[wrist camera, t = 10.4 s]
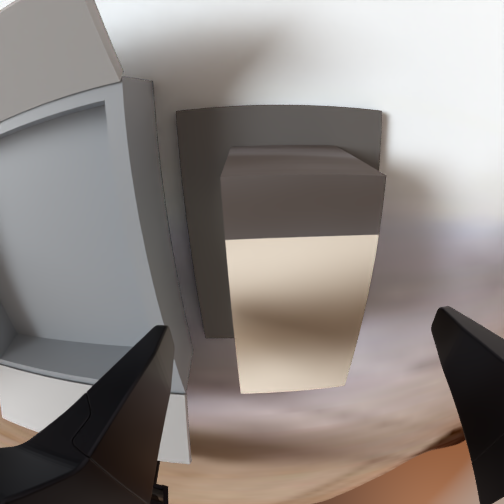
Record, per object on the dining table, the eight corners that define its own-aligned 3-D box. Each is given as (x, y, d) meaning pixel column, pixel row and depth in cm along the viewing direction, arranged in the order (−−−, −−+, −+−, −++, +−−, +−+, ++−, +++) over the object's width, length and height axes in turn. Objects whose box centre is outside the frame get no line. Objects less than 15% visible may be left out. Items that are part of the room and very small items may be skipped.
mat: (351, 324, 20) (353, 330, 19) (206, 332, 20) (205, 338, 19) (377, 110, 13) (381, 110, 13) (178, 111, 13) (175, 111, 13)
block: (322, 310, 18) (344, 385, 13) (242, 314, 18) (240, 393, 13) (334, 145, 14) (385, 175, 8) (231, 146, 14) (220, 176, 8)
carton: (201, 381, 23) (191, 466, 16) (35, 362, 23) (4, 420, 16) (150, 15, 11) (75, -38, 4) (-50, 104, 11) (-123, 129, 4)
